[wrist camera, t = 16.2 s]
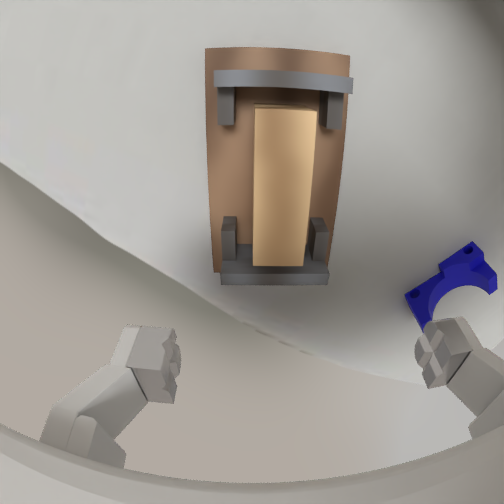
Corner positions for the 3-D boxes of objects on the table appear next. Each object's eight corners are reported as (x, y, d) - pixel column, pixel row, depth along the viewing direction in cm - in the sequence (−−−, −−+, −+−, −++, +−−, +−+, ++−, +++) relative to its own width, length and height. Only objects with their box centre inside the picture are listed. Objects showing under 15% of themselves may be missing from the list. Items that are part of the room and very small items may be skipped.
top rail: (302, 105, 23) (316, 111, 18) (293, 230, 29) (302, 266, 24) (254, 103, 23) (255, 108, 18) (252, 230, 29) (252, 265, 24)
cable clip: (471, 240, 31) (496, 266, 26) (475, 263, 33) (497, 288, 28) (400, 286, 35) (418, 318, 30) (409, 306, 37) (425, 337, 32)
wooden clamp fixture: (344, 56, 21) (371, 51, 16) (323, 264, 33) (336, 303, 27) (207, 50, 21) (194, 40, 16) (215, 264, 33) (208, 303, 27)
